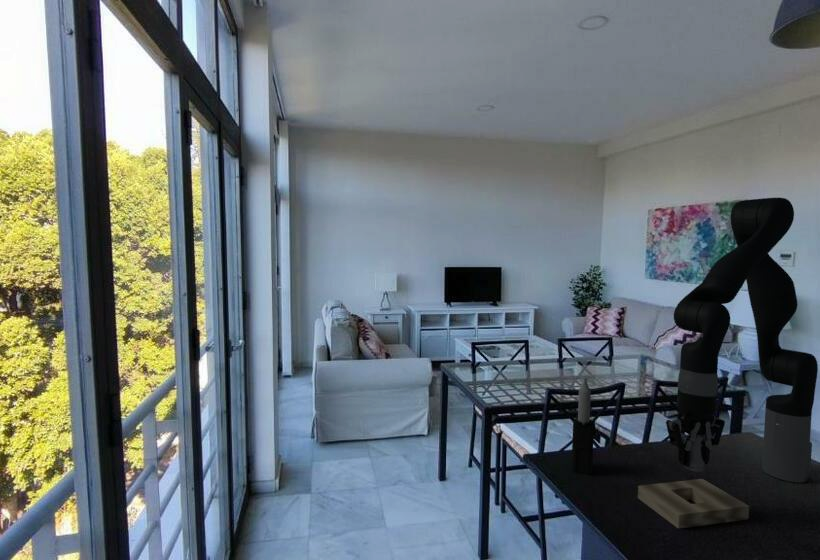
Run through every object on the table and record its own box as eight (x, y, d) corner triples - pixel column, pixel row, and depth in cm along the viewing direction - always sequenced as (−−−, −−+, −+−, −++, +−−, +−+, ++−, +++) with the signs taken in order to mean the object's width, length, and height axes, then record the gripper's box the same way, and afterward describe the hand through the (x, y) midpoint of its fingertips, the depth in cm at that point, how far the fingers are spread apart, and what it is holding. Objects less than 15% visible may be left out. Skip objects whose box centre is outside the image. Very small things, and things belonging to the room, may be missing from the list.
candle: (592, 467, 120) (596, 376, 118) (591, 476, 115) (595, 381, 114) (572, 463, 122) (575, 374, 120) (570, 471, 117) (574, 378, 116)
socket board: (701, 490, 108) (702, 478, 108) (748, 519, 97) (749, 506, 97) (637, 497, 105) (638, 485, 105) (678, 528, 93) (679, 514, 93)
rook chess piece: (708, 473, 98) (710, 438, 97) (686, 471, 98) (688, 436, 98) (699, 464, 102) (701, 430, 101) (678, 462, 103) (680, 428, 102)
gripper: (709, 383, 104) (705, 454, 105) (657, 386, 101) (653, 459, 102) (739, 393, 97) (734, 469, 98) (683, 396, 94) (679, 474, 95)
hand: (693, 463), depth 100 cm, fingers closed on rook chess piece, 4 cm apart
